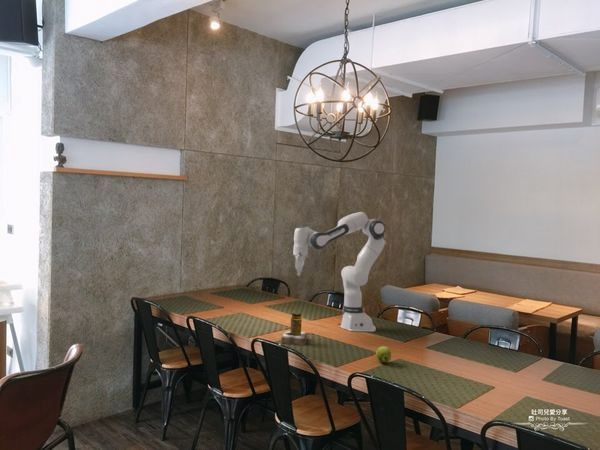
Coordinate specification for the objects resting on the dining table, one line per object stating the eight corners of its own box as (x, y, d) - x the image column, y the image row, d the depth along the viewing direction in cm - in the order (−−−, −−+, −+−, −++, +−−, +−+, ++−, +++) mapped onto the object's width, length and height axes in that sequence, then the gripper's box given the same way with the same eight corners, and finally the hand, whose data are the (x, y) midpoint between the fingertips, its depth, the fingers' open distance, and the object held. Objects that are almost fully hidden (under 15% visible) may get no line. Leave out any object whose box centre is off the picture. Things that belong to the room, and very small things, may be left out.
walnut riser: (306, 338, 290) (306, 331, 290) (304, 344, 277) (304, 337, 277) (284, 337, 291) (284, 330, 291) (281, 343, 278) (281, 336, 278)
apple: (388, 359, 258) (389, 344, 257) (392, 365, 249) (393, 349, 248) (373, 359, 257) (374, 343, 257) (377, 365, 248) (378, 349, 248)
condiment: (303, 335, 282) (304, 314, 281) (291, 337, 277) (292, 315, 277) (296, 332, 288) (297, 311, 287) (284, 333, 283) (285, 312, 283)
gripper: (304, 254, 298) (303, 277, 299) (306, 250, 318) (305, 272, 319) (293, 253, 298) (292, 276, 299) (296, 250, 319) (295, 271, 319)
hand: (299, 274), depth 309 cm, fingers open, 8 cm apart
